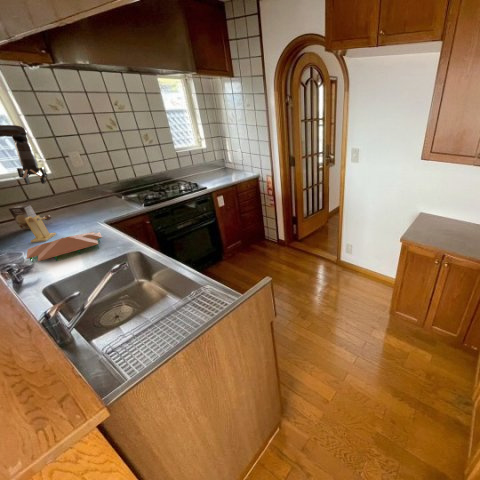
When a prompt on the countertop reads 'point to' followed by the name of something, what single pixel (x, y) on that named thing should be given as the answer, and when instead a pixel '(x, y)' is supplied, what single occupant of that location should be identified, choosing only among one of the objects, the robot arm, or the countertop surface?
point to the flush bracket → (39, 229)
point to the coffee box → (22, 215)
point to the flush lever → (42, 218)
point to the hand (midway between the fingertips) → (36, 183)
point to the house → (64, 246)
